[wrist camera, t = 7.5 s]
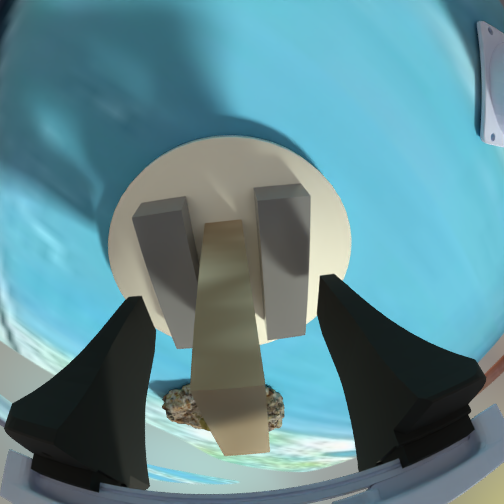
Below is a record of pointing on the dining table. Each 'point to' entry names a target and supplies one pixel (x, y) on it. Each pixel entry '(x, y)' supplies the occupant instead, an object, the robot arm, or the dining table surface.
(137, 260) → the clip base
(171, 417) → the mineral rock
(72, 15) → the dining table surface
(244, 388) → the wooden block
